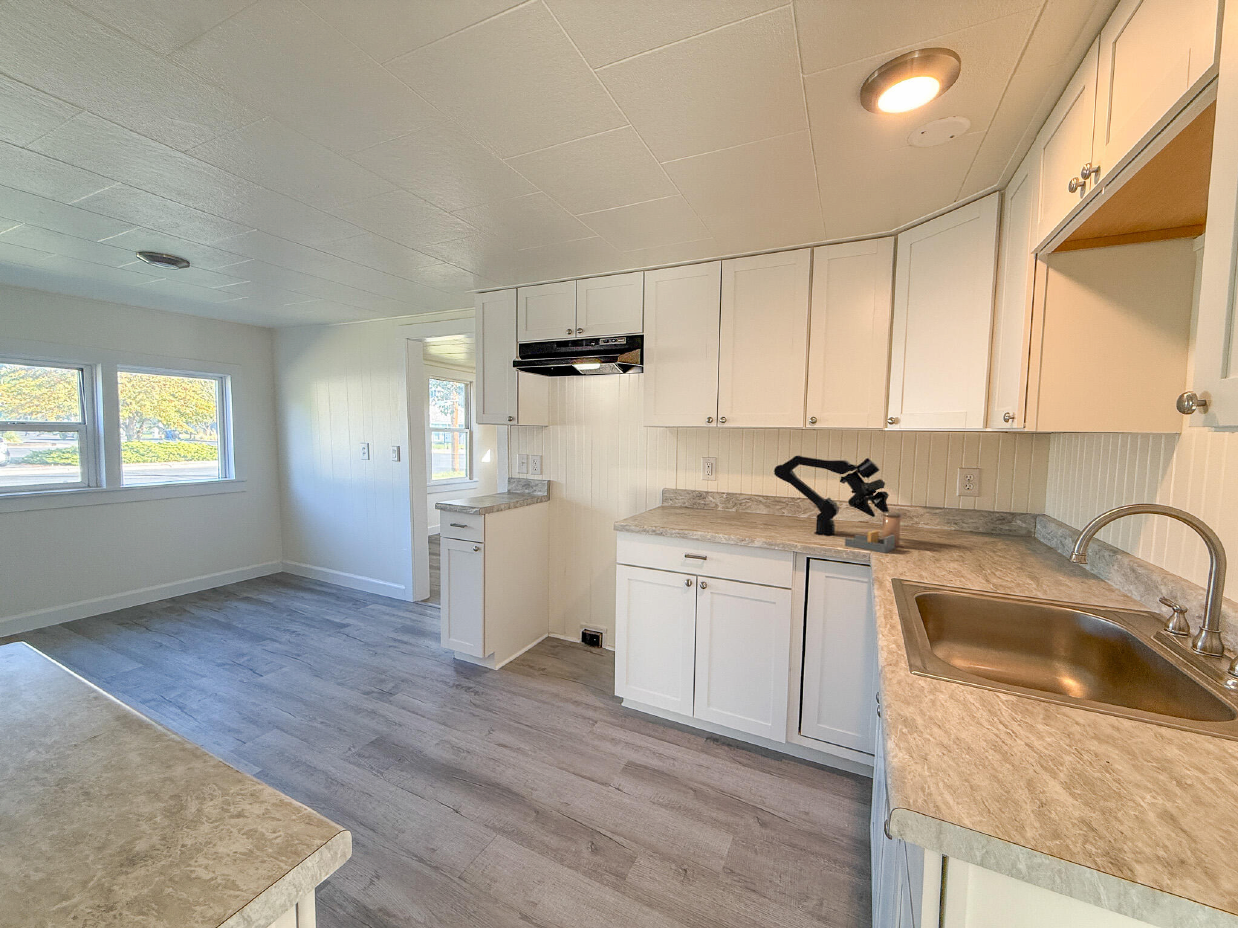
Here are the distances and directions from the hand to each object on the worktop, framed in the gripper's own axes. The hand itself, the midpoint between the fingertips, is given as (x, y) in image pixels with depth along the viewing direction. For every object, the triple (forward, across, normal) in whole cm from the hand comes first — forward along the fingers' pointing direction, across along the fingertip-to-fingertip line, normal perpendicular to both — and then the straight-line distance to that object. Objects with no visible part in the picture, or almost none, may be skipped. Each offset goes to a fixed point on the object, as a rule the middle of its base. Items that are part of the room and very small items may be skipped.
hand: (881, 515), depth 194 cm
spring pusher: (+10, -10, +5) cm, 15 cm away
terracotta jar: (+11, 0, +5) cm, 12 cm away
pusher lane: (+10, -10, +6) cm, 15 cm away
